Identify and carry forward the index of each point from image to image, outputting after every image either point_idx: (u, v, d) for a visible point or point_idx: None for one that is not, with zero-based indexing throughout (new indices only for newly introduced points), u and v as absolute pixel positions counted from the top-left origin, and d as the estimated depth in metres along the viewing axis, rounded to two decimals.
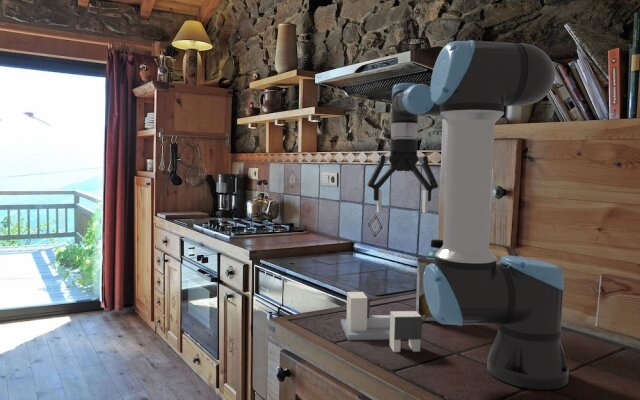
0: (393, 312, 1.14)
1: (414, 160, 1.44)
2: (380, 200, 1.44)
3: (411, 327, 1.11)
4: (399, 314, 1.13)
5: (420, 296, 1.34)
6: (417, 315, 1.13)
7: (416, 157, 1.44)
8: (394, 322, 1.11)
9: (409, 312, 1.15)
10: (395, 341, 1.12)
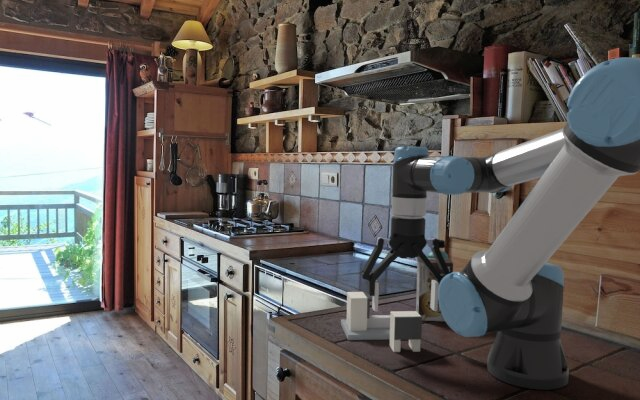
0: (393, 312, 1.14)
1: (421, 244, 1.12)
2: (377, 296, 1.11)
3: (411, 327, 1.11)
4: (399, 314, 1.13)
5: (420, 296, 1.34)
6: (417, 315, 1.13)
7: (424, 240, 1.12)
8: (394, 322, 1.11)
9: (409, 312, 1.14)
10: (395, 341, 1.12)
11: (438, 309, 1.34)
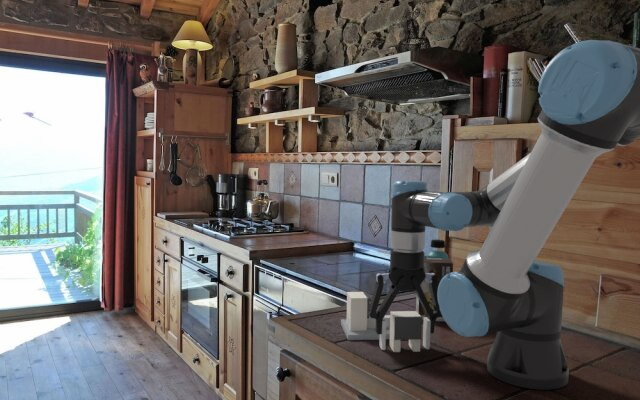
0: (393, 312, 1.14)
1: (420, 277, 1.12)
2: (384, 334, 1.12)
3: (411, 327, 1.11)
4: (399, 314, 1.13)
5: None
6: (417, 315, 1.13)
7: (423, 274, 1.12)
8: (394, 322, 1.11)
9: (409, 312, 1.15)
10: (395, 341, 1.12)
11: None
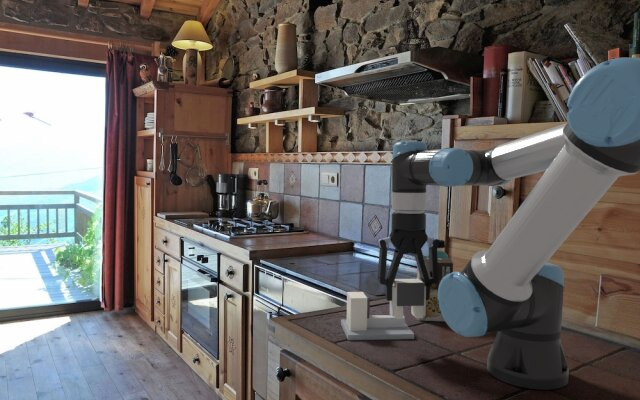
0: (395, 279, 1.13)
1: (422, 239, 1.11)
2: (394, 301, 1.11)
3: (413, 293, 1.10)
4: (401, 281, 1.12)
5: None
6: (420, 281, 1.12)
7: (425, 236, 1.11)
8: (396, 288, 1.10)
9: (411, 279, 1.14)
10: (398, 308, 1.10)
11: (438, 309, 1.34)
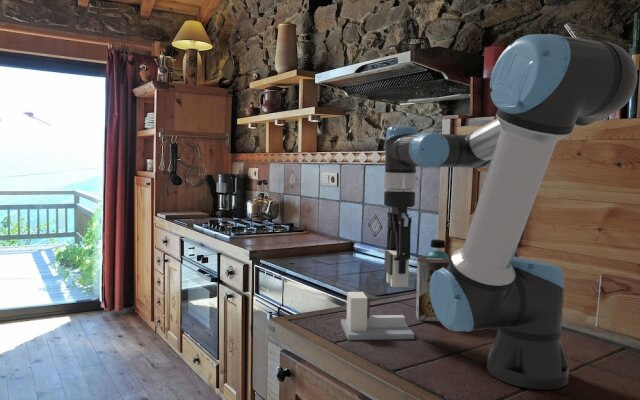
0: None
1: (397, 216, 1.21)
2: None
3: (387, 262, 1.24)
4: (394, 251, 1.26)
5: (420, 296, 1.34)
6: (395, 254, 1.22)
7: (398, 214, 1.20)
8: None
9: None
10: None
11: None
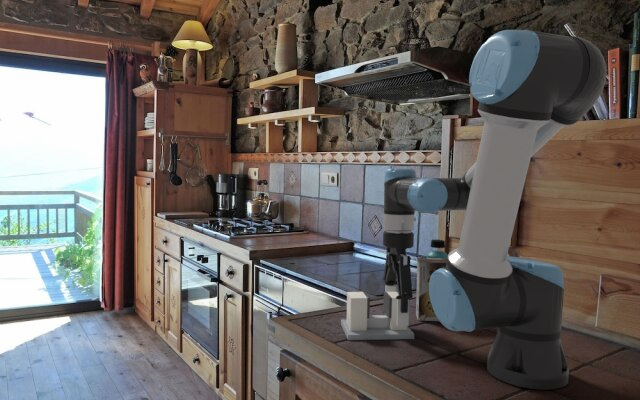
0: None
1: (396, 257, 1.22)
2: None
3: (387, 304, 1.24)
4: (393, 293, 1.27)
5: (420, 296, 1.34)
6: (395, 297, 1.23)
7: (397, 254, 1.21)
8: None
9: None
10: None
11: None
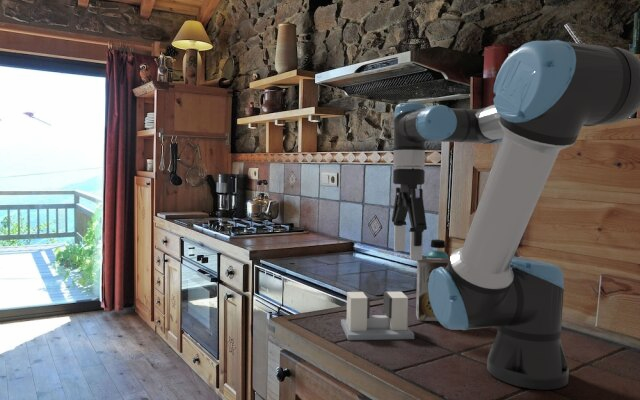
0: (398, 292, 1.28)
1: (407, 194, 1.19)
2: (394, 237, 1.30)
3: (387, 304, 1.24)
4: (393, 293, 1.27)
5: (420, 296, 1.34)
6: (395, 297, 1.23)
7: (408, 190, 1.19)
8: None
9: (402, 295, 1.24)
10: None
11: None
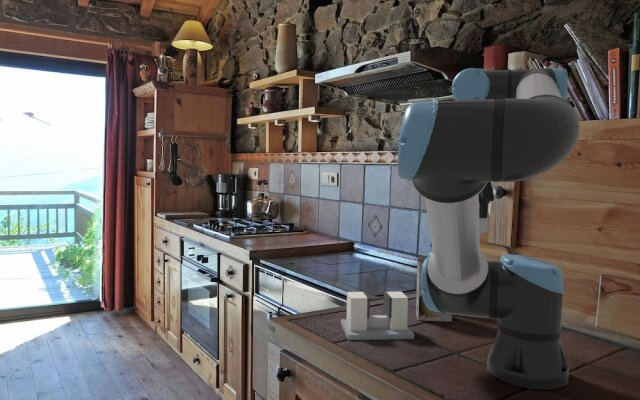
0: (398, 292, 1.28)
1: None
2: None
3: (387, 304, 1.24)
4: (393, 293, 1.27)
5: (420, 296, 1.34)
6: (395, 297, 1.23)
7: None
8: None
9: (402, 295, 1.24)
10: None
11: None
